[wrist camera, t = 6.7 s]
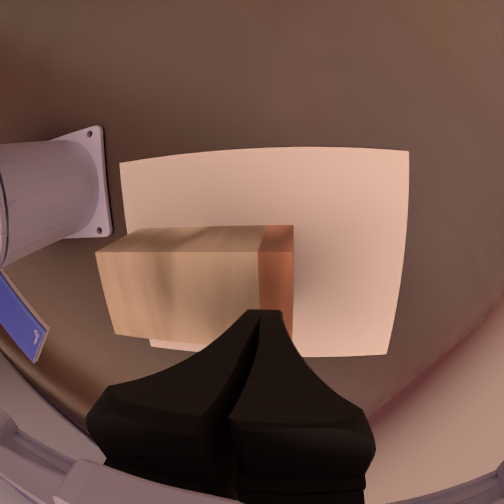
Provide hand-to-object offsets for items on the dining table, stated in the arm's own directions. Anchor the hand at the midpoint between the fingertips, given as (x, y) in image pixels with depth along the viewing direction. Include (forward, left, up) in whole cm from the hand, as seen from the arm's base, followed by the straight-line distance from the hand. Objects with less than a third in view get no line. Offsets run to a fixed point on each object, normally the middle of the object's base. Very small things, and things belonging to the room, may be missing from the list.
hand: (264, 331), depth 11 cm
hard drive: (-30, -6, -9) cm, 32 cm away
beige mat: (-1, 0, -8) cm, 8 cm away
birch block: (+1, 0, -5) cm, 5 cm away
